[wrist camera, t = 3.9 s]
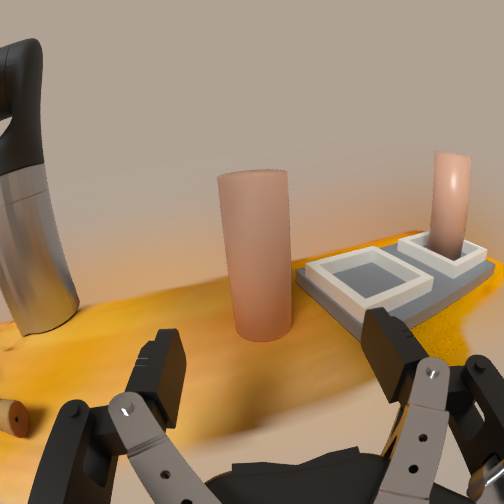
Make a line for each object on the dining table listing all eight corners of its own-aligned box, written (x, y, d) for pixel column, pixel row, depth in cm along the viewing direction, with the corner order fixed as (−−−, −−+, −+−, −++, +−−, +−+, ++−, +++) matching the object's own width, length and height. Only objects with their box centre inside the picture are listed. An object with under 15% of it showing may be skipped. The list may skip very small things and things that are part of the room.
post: (266, 350, 21) (254, 180, 16) (224, 327, 25) (203, 178, 20) (302, 319, 25) (300, 170, 20) (261, 302, 28) (250, 169, 23)
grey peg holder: (369, 350, 20) (389, 154, 14) (295, 282, 31) (290, 147, 26) (492, 274, 26) (509, 164, 21) (427, 243, 38) (433, 150, 32)
